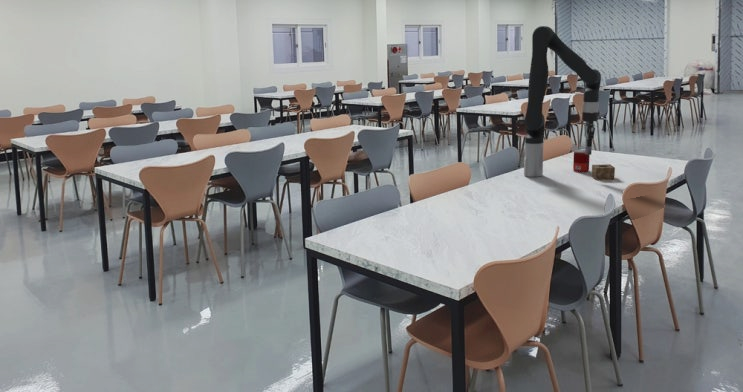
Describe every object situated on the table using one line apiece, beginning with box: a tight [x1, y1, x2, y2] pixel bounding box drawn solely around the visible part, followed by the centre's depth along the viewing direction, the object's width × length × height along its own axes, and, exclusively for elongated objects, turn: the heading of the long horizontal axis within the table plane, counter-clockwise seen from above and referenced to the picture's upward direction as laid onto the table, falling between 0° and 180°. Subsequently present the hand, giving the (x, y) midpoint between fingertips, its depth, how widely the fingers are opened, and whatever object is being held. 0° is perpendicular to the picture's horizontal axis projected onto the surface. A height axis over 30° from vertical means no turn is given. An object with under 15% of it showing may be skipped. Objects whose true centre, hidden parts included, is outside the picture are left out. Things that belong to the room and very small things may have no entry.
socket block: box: [591, 163, 616, 181], centre depth 325 cm, size 9×9×6 cm
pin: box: [584, 132, 593, 155], centre depth 320 cm, size 3×3×12 cm
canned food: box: [572, 149, 590, 173], centre depth 343 cm, size 8×8×11 cm
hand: (588, 145), depth 320 cm, fingers closed on pin, 3 cm apart
